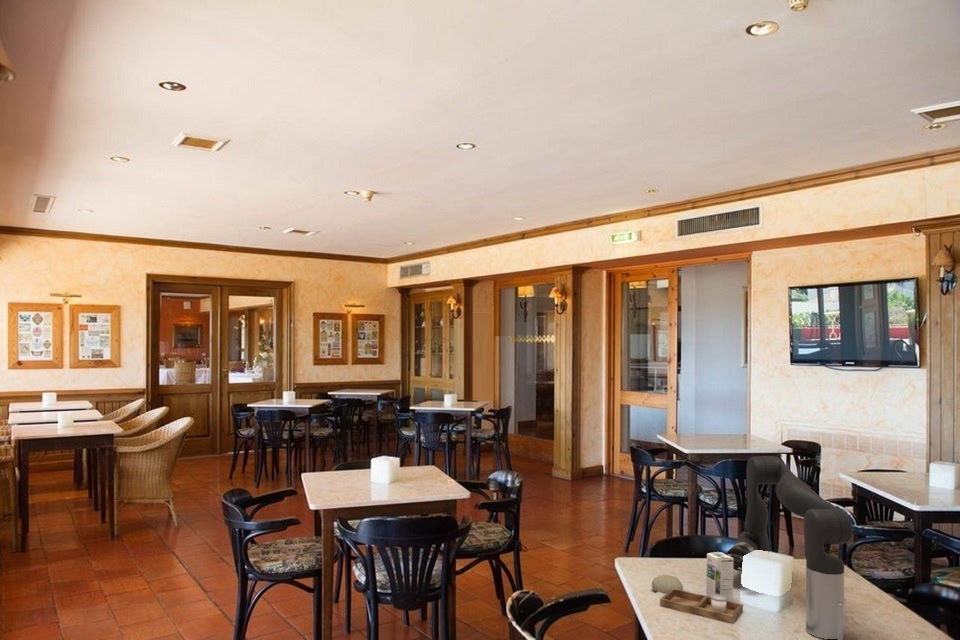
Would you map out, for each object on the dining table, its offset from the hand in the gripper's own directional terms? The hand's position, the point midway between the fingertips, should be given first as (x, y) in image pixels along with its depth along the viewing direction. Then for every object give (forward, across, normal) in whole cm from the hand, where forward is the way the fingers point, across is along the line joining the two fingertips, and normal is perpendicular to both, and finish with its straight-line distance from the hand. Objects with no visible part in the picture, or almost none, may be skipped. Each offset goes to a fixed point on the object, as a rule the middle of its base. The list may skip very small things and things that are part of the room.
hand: (728, 568), depth 210 cm
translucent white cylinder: (+20, +2, +7) cm, 21 cm away
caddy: (+20, -2, +8) cm, 21 cm away
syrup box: (+10, 0, +8) cm, 13 cm away
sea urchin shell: (+10, -16, +8) cm, 21 cm away
